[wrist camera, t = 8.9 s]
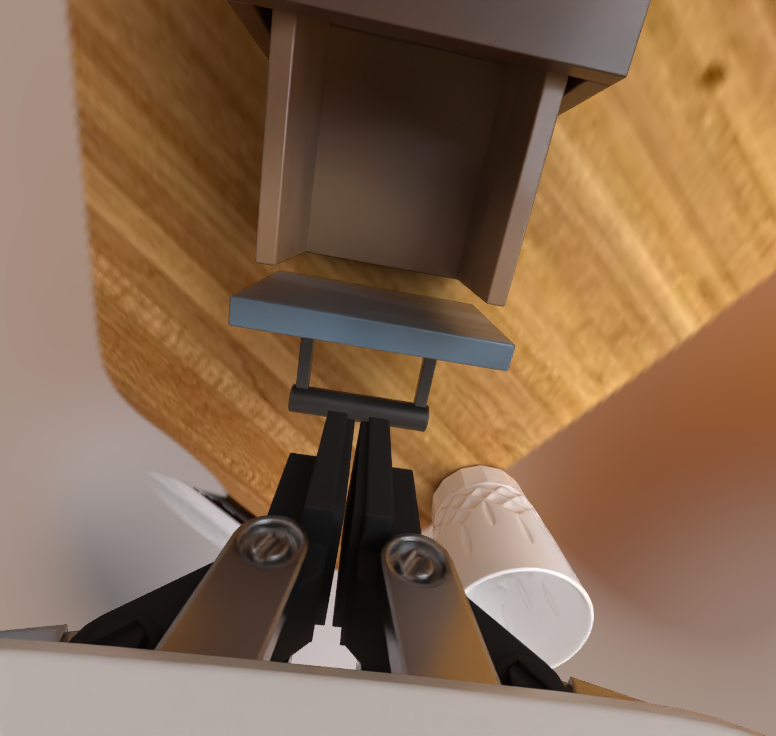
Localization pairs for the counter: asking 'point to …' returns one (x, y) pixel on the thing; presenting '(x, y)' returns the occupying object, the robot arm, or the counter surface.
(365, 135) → the drawer
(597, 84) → the cabinet
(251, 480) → the counter surface
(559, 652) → the white cup
